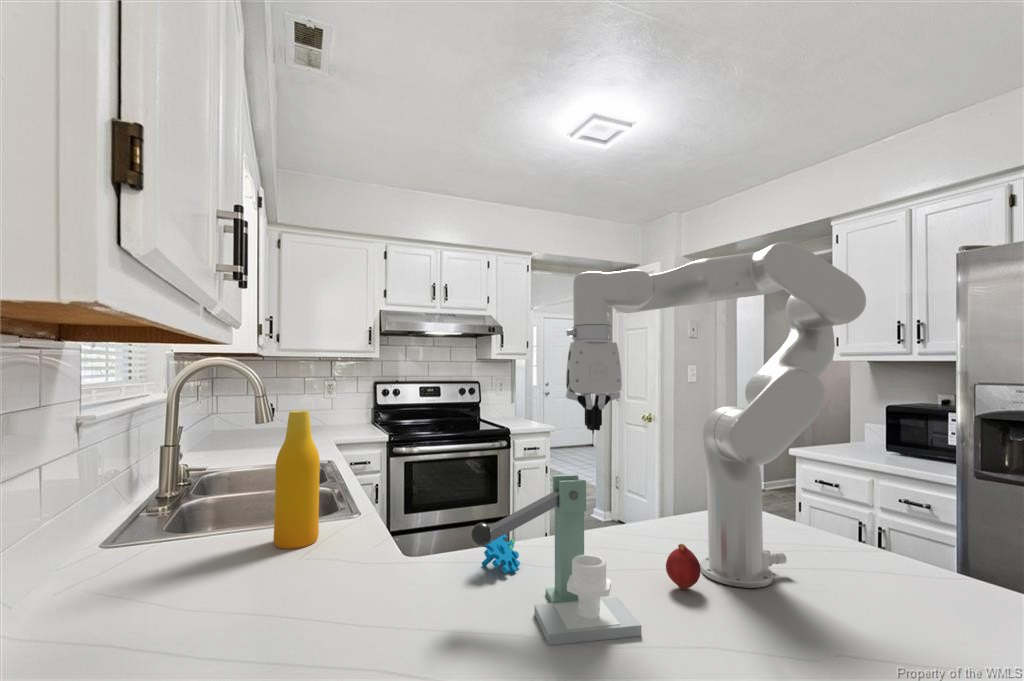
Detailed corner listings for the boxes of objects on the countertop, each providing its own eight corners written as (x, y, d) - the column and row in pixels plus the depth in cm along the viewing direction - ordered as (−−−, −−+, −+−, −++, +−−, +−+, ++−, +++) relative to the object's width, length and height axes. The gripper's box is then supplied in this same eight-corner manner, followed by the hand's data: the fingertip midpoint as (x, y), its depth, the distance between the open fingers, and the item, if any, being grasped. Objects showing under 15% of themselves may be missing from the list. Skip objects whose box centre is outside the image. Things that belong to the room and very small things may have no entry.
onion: (676, 579, 93) (675, 535, 93) (706, 589, 89) (705, 543, 89) (660, 589, 89) (659, 543, 89) (691, 600, 85) (690, 551, 85)
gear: (505, 574, 91) (475, 527, 96) (483, 593, 92) (455, 546, 97) (532, 562, 100) (504, 520, 105) (512, 580, 102) (485, 537, 106)
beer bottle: (326, 541, 112) (329, 411, 114) (285, 553, 105) (288, 414, 107) (306, 532, 118) (308, 408, 120) (266, 542, 111) (269, 411, 113)
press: (602, 588, 89) (601, 473, 90) (641, 635, 73) (640, 495, 74) (525, 594, 86) (525, 475, 87) (548, 645, 71) (548, 500, 72)
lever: (578, 489, 88) (570, 471, 88) (585, 494, 84) (576, 475, 84) (475, 545, 84) (466, 526, 84) (477, 553, 81) (468, 533, 81)
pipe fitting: (612, 606, 79) (611, 554, 80) (608, 628, 72) (607, 572, 73) (572, 601, 81) (571, 550, 81) (564, 622, 74) (564, 567, 74)
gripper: (561, 333, 93) (561, 433, 92) (636, 335, 96) (637, 431, 95) (551, 336, 101) (551, 428, 100) (621, 337, 103) (621, 426, 102)
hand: (593, 429), depth 97 cm, fingers closed
